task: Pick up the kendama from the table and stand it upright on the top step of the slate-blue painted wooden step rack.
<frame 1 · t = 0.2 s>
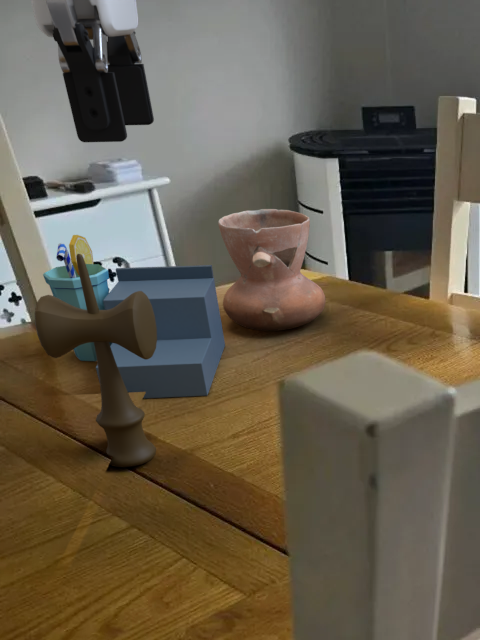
hand: (119, 132, 61), 30 cm above the table, tool pointing down, fingers open, 9 cm apart
kendama: (131, 461, 84), on the table
cup: (96, 358, 109), on the table
ceramic jug: (278, 323, 121), on the table
step rack: (169, 371, 105), on the table
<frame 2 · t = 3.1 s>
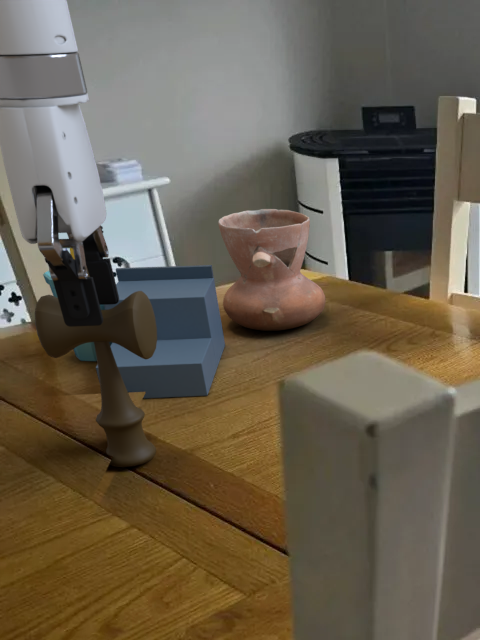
hand: (93, 312, 76), 15 cm above the table, tool pointing down, fingers closed on kendama, 5 cm apart
kendama: (131, 462, 84), on the table, touching gripper
everything else where it was.
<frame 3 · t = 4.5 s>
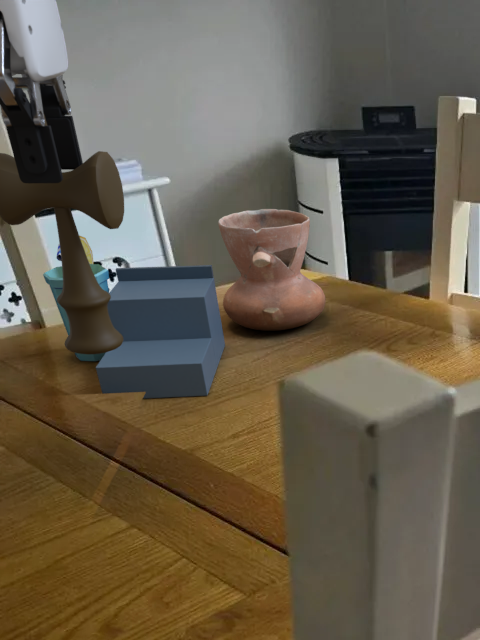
hand: (53, 173, 69), 26 cm above the table, tool pointing down, fingers closed on kendama, 5 cm apart
kendama: (96, 351, 78), point 11 cm above the table, touching gripper
everything else where it was.
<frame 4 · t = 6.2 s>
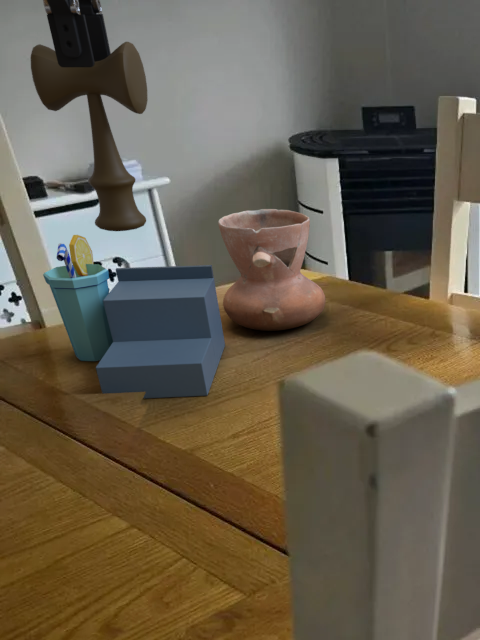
hand: (86, 62, 79), 33 cm above the table, tool pointing down, fingers closed on kendama, 5 cm apart
kendama: (122, 231, 88), point 18 cm above the table, touching gripper
everything else where it was.
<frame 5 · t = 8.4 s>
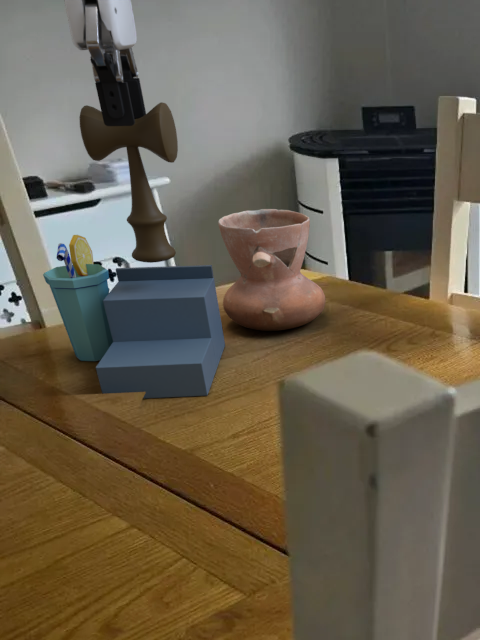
hand: (126, 120, 92), 27 cm above the table, tool pointing down, fingers closed on kendama, 5 cm apart
kendama: (155, 261, 101), point 12 cm above the table, touching gripper
everything else where it was.
when the fingers open (24 cm above the table, at t = 9.7 s): kendama stays where it is, resting on step rack.
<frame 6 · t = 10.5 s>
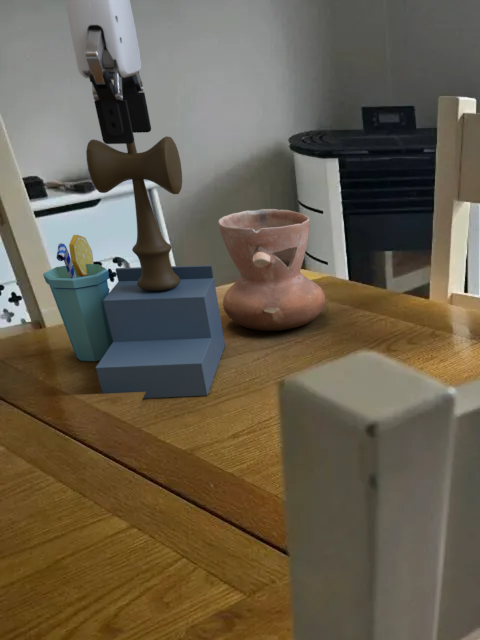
hand: (128, 137, 93), 26 cm above the table, tool pointing down, fingers open, 9 cm apart
kendama: (160, 289, 103), point 9 cm above the table, touching step rack
everything else where it was.
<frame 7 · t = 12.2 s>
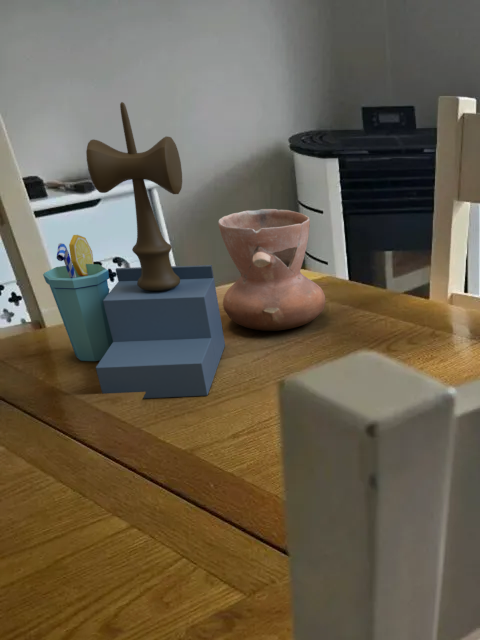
nothing on the table moved.
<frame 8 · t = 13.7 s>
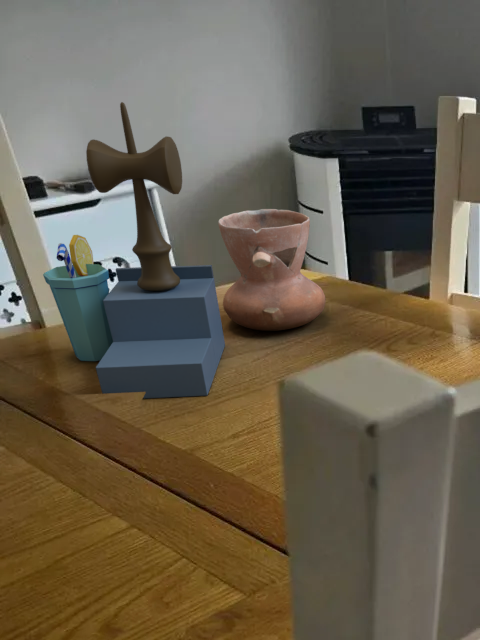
nothing on the table moved.
at the end: kendama inside the target area on the step rack (0.5 cm from its centre), point 8.8 cm above the step rack's base; kendama tilted 0° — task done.
